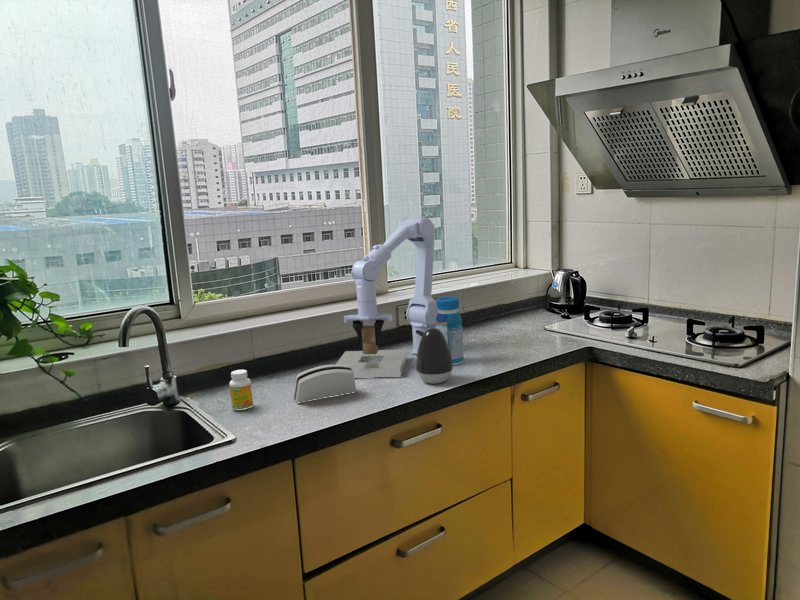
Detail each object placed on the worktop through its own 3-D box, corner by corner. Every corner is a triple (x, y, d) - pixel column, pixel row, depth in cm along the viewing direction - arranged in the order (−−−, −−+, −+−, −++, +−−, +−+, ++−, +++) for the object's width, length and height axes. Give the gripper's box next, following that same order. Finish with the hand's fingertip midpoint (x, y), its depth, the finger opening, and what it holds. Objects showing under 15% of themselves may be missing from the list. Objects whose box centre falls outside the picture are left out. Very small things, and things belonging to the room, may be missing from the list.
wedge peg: (378, 350, 185) (376, 325, 183) (376, 354, 181) (374, 328, 179) (365, 351, 185) (363, 325, 184) (363, 354, 181) (361, 328, 180)
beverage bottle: (463, 366, 180) (460, 300, 176) (435, 366, 182) (431, 301, 178) (465, 358, 188) (462, 295, 184) (438, 358, 190) (435, 296, 186)
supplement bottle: (231, 412, 152) (227, 375, 151) (232, 405, 158) (228, 370, 156) (253, 409, 154) (249, 373, 152) (253, 403, 159) (249, 367, 157)
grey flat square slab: (407, 358, 192) (406, 349, 192) (400, 377, 173) (400, 367, 172) (345, 360, 194) (345, 351, 194) (332, 379, 175) (331, 369, 174)
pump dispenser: (427, 374, 175) (424, 323, 172) (459, 377, 169) (457, 325, 167) (409, 384, 166) (406, 331, 163) (443, 388, 161) (440, 333, 158)
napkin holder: (351, 387, 166) (352, 357, 162) (356, 397, 163) (358, 367, 158) (291, 398, 160) (291, 367, 156) (296, 409, 157) (295, 378, 152)
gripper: (340, 304, 177) (343, 348, 179) (389, 302, 175) (392, 347, 178) (345, 299, 184) (348, 342, 186) (392, 297, 182) (394, 341, 184)
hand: (370, 344), depth 182 cm, fingers closed on wedge peg, 4 cm apart
